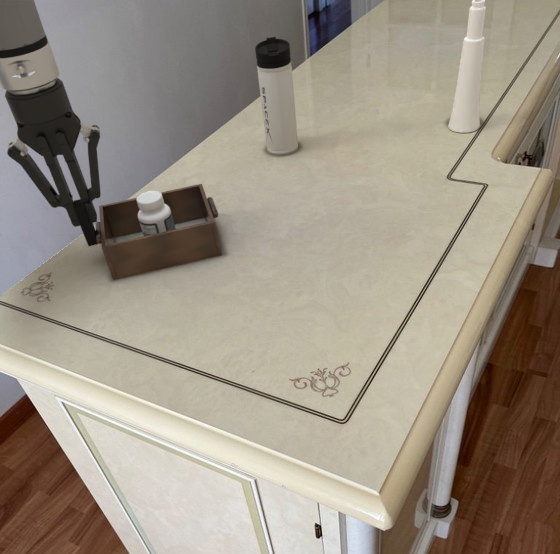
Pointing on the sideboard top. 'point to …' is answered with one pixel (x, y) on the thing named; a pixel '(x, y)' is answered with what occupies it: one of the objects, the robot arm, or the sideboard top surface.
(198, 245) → the brown wooden open box
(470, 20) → the cosmetic bottle
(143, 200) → the pill bottle
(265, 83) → the travel mug
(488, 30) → the sideboard top surface
